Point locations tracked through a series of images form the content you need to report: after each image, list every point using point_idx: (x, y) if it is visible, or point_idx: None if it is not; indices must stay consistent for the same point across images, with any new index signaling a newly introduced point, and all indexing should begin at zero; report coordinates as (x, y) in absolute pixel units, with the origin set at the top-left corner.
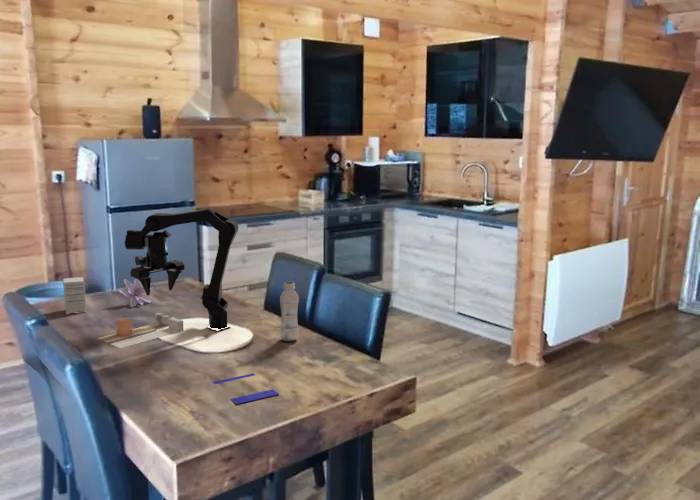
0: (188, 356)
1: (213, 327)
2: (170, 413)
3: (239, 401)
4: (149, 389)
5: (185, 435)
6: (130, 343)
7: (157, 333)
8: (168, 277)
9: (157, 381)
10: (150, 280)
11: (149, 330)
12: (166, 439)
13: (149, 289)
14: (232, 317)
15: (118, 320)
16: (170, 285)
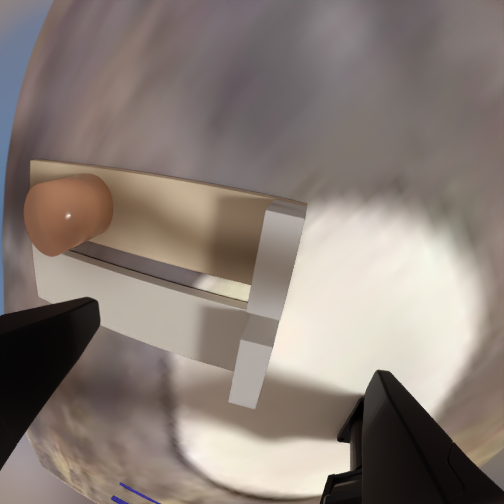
0: (146, 443)
1: (349, 430)
2: (54, 455)
3: (117, 501)
4: (48, 425)
5: (55, 469)
6: (66, 297)
7: (172, 315)
8: (430, 490)
9: (62, 427)
10: (3, 463)
11: (175, 258)
12: (42, 459)
13: (55, 379)
14: (497, 383)
15: (33, 200)
16: (372, 435)
